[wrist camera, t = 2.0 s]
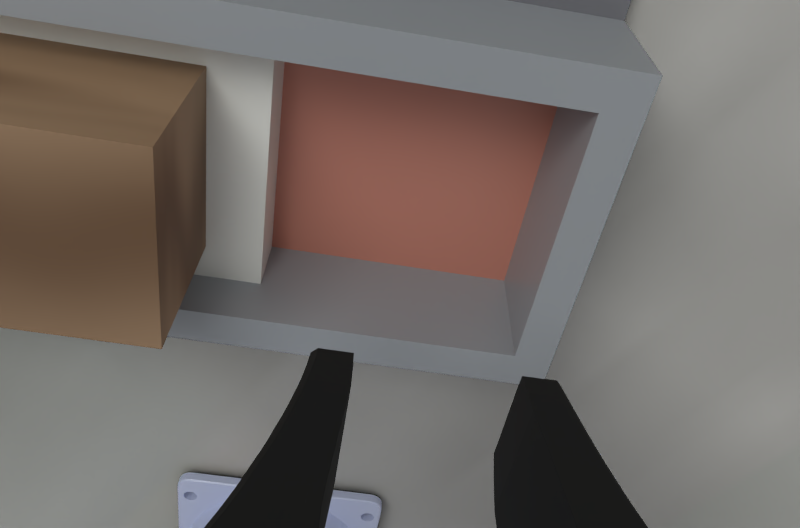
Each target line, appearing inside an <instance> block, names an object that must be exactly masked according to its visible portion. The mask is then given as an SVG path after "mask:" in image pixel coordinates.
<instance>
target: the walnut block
mask: <svg viewBox="0 0 800 528" xmlns="http://www.w3.org/2000/svg"><path fill="white" fill-rule="evenodd" d="M205 247H206V66H203V65H197V64H190V63H184V62H178V61H172V60H166V59H160V58H153V57H147V56H141V55H135V54H129V53H123V52H117V51H110V50H104V49H98V48H92V47H86V46H80V45H73V44H67V43H61V42H55V41H49V40H43V39H37V38H30V37H24V36H18V35H12V34H6V33H0V327H1V328H9V329H16V330H24V331H31V332H38V333H46V334H53V335H61V336H68V337H76V338H83V339H90V340H98V341H105V342H113V343H120V344H127V345H135V346H142V347H150V348H157V349H162V347H163V345H164V342H165V340H166V338H167V335H168V333H169V331H170V328H171V326H172V324H173V321H174V319H175V317H176V314H177V312H178V310H179V307H180V305H181V303H182V301H183V298H184V296H185V294H186V291H187V289H188V287H189V284H190V282H191V280H192V277H193V275H194V273H195V270H196V268H197V266H198V263H199V261H200V259H201V256H202V254H203V252H204V249H205Z"/></svg>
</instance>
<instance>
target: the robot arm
mask: <svg viewBox="0 0 800 528" xmlns="http://www.w3.org/2000/svg"><path fill="white" fill-rule="evenodd" d="M353 359H354V353H351V352H344V351H336V350H329V349H322V348H317V349H315V350H314V351H312V352H311V353H310V356H309V360H308V363H307V366H306V368H305V371H304V373H303V376H302V378H301V380H300V382H299V385H298V387H297V389H296V391H295V393H294V395H293V397H292V399H291V400H290V402H289V404H288V406H287V408H286V410H285V412H284V413H283V415H282V417H281V418H280V420H279V422H278V423H277V425H276V427H275V428H274V430H273V432H272V434H271V435H270V437H269V439H268V440H267V442H266V443H265V445H264V447H263V448H262V450H261V451H260V453H259V454H258V455H257V457H256V458H255V460H254V461H253V463H252V464H251V466H250V467H249V469H248V470H247V472H246V473H245V474H244V476H243V477H242V478H234V477H226V476H218V475H210V474H202V473H194V472H188V473H184V474H183V475H181V476H180V479H179V482H178V516H179V528H377V527H378V523H379V519H380V514H381V509H382V501H381V499H380V498H379V497H377V496H375V495H371V494H364V493H356V492H348V491H340V490H333V488H334V483H335V477H336V471H337V465H338V459H339V453H340V447H341V441H342V435H343V430H344V424H345V418H346V412H347V406H348V400H349V394H350V388H351V380H352V370H353ZM494 503H495V517H496V525H497V528H648V527H647V526H646V524H645V523H644V521H643V520H642V519H641V517H640V516H639V514H638V513H637V511H636V510H635V508H634V507H633V505H632V504H631V502H630V501H629V499H628V498H627V497H626V495H625V493H624V492H623V490H622V489H621V487H620V486H619V484H618V482H617V481H616V479H615V478H614V476H613V475H612V473H611V471H610V470H609V468H608V467H607V465H606V464H605V462H604V460H603V459H602V457H601V455H600V454H599V452H598V450H597V449H596V447H595V445H594V444H593V442H592V440H591V438H590V437H589V435H588V433H587V432H586V430H585V428H584V426H583V425H582V423H581V421H580V419H579V418H578V416H577V414H576V412H575V411H574V409H573V407H572V405H571V403H570V402H569V400H568V398H567V396H566V395H565V393H564V391H563V389H562V387H561V386H560V384H559V383H558V382H557V381H555V380H548V379H541V378H533V377H526V376H522V377H521V380H520V383H519V386H518V389H517V391H516V394H515V397H514V400H513V402H512V405H511V408H510V411H509V413H508V416H507V419H506V422H505V425H504V427H503V430H502V433H501V436H500V438H499V441H498V444H497V447H496V449H495V452H494Z"/></svg>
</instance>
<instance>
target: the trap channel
mask: <svg viewBox="0 0 800 528" xmlns="http://www.w3.org/2000/svg"><path fill="white" fill-rule="evenodd" d="M630 3H631V0H0V33H6V34H12V35H18V36H24V37H30V38H37V39H43V40H49V41H55V42H61V43H67V44H73V45H80V46H86V47H92V48H98V49H104V50H110V51H117V52H123V53H129V54H135V55H141V56H147V57H153V58H160V59H166V60H172V61H178V62H184V63H190V64H197V65H203V66H206V247H205V249H204V252H203V254H202V256H201V259H200V261H199V263H198V266H197V268H196V270H195V273H194V275H193V277H192V280H191V282H190V284H189V287H188V289H187V291H186V294H185V296H184V298H183V301H182V303H181V305H180V307H179V310H178V312H177V314H176V317H175V319H174V321H173V324H172V326H171V328H170V331H169V333H168V335H167V337H174V338H182V339H189V340H196V341H204V342H211V343H218V344H226V345H233V346H240V347H248V348H255V349H262V350H270V351H277V352H284V353H292V354H299V355H307V356H310V353H311V352H312V351H314V350H315V349H317V348H322V349H329V350H336V351H344V352H351V353H354V359H353V362H358V363H365V364H373V365H380V366H387V367H395V368H402V369H409V370H417V371H424V372H431V373H439V374H446V375H453V376H461V377H468V378H475V379H483V380H490V381H498V382H505V383H512V384H519V383H520V380H521V377H522V376H526V377H533V378H541V379H545V377H546V375H547V372H548V370H549V367H550V365H551V362H552V359H553V357H554V354H555V352H556V349H557V347H558V344H559V341H560V339H561V336H562V334H563V331H564V328H565V326H566V323H567V321H568V318H569V316H570V313H571V310H572V308H573V305H574V303H575V300H576V298H577V295H578V292H579V290H580V287H581V285H582V282H583V280H584V277H585V274H586V272H587V269H588V267H589V264H590V262H591V259H592V256H593V254H594V251H595V249H596V246H597V244H598V241H599V238H600V236H601V233H602V231H603V228H604V225H605V223H606V220H607V218H608V215H609V213H610V210H611V207H612V205H613V202H614V200H615V197H616V195H617V192H618V189H619V187H620V184H621V182H622V179H623V177H624V174H625V171H626V169H627V166H628V164H629V161H630V159H631V156H632V153H633V151H634V148H635V146H636V143H637V141H638V138H639V135H640V133H641V130H642V128H643V125H644V123H645V120H646V117H647V115H648V112H649V110H650V107H651V104H652V102H653V99H654V97H655V94H656V92H657V89H658V86H659V84H660V81H661V79H662V76H663V75H662V74H661V73H660V71H659V70H658V68H657V67H656V65H655V64H654V63H653V61H652V60H651V58H650V57H649V55H648V54H647V52H646V51H645V50H644V48H643V47H642V45H641V44H640V42H639V41H638V40H637V38H636V37H635V35H634V34H633V32H632V31H631V30H630V28H629V27H628V25H627V24H626V22H625V21H624V20H625V17H626V14H627V11H628V9H629V6H630Z"/></svg>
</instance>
